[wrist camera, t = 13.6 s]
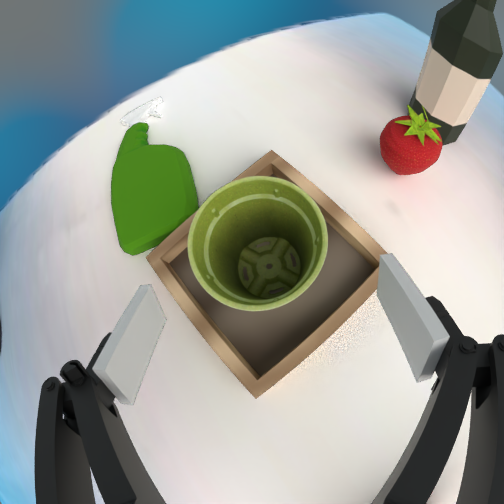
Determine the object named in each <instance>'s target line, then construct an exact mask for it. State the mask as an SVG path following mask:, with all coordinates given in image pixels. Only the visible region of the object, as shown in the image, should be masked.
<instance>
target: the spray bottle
mask: <svg viewBox="0 0 504 504" xmlns="http://www.w3.org/2000/svg"><path fill="white" fill-rule="evenodd" d="M161 102H163V100H162V98H161V97H158V98H156V99H154V100H151V101H149V102H147V103H145V104H143V105H142V106H140V107H138V108H136V109H134V110H133V111H131V112H129V113H128V114H126V115H125V116H124V117H123V118H122V119H121V120H120V122H121V123H122V124H123V125H127V126H129V129H128V130H127V131H126V133H125V135H124V138H123V140H122V143H121V145H120V148H119V151H118V155H117V158H116V161H115V164H114V167H113V172H112V181H111V205H112V211H113V216H114V221H115V226H116V231H117V235H118V240H119V244H120V247H121V248H122V249H123V251H124V252H126V253H128V254H130V255H137V254H139V253H142V252H144V251H146V250H148V249H151V248H153V247H155V246H158V245H159V244H160V243H162V242H163V241H164V240H165V239H166V238H167V237H168V236H169V235H170V234H171V233H172V232H174V231H175V230H176V229H177V228H178V227H179V226H180V225H181V224H182V223H184V222H185V221H186V220H187V219H188V218H189V217H190V216H191V215H193V214H194V213H195V212H196V211H197V210H198V209H199V208H198V200H197V193H196V189H195V185H194V181H193V177H192V173H191V169H190V165H189V163H188V161H187V159H186V157H185V155H184V153H183V151H181V150H179V149H178V148H176V147H173V146H169V145H148V142H147V141H146V140H147V137H148V135H147V134H146V132H147V130H148V127H149V126H148V124H147V123H145V122H146V120H147V119H148V117H149V116H151V115H152V116H155V117H160V118H161V117H162V115H161V114H159V113H157V112H156V111H155V109H156V105H158V104H160V103H161Z"/></svg>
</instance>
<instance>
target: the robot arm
mask: <svg viewBox="0 0 504 504" xmlns="http://www.w3.org/2000/svg"><path fill="white" fill-rule="evenodd" d="M377 297H378V299H379V301H380V303H381V305H382V307H383V309H384V311H385V313H386V315H387V317H388V319H389V321H390V323H391V325H392V327H393V329H394V331H395V334H396V336H397V338H398V340H399V342H400V344H401V347H402V349H403V351H404V353H405V356H406V358H407V360H408V363H409V365H410V367H411V370H412V372H413V375H414V377H415V380H416V382H417V383H418V382H421V381H424V380H427V379H430V378H431V377H432V375H433V373H434V371H436V374H437V376H438V378H437V380H436V381H435V383H434V385H433V387H432V389H431V390H432V393H431V395H430V398H429V400H428V403H427V405H426V407H425V410H424V412H423V414H422V417H421V419H420V421H419V423H418V425H417V428H416V430H415V432H414V434H413V436H412V438H411V440H410V442H409V444H408V446H407V447H406V449H405V451H404V453H403V455H402V457H401V458H400V460H399V462H398V464H397V465H396V467H395V469H394V470H393V472H392V474H391V475H390V477H389V478H388V480H387V481H386V483H385V485H384V486H383V488H382V489H381V491H380V492H379V493H378V495H377V496H376V498H375V499H374V501H373V502H372V503H371V504H426V502H427V500H428V499H429V497H430V495H431V493H432V491H433V490H434V488H435V486H436V484H437V482H438V480H439V478H440V476H441V474H442V472H443V469H444V467H445V465H446V463H447V461H448V458H449V456H450V453H451V451H452V449H453V446H454V443H455V441H456V438H457V435H458V433H459V430H460V427H461V424H462V421H463V418H464V415H465V411H466V408H467V405H468V401H469V397H470V393H471V389H472V397H471V420H470V432H469V441H468V449H467V456H466V462H465V468H464V473H463V478H462V482H461V487H460V491H459V495H458V499H457V502H456V504H504V335H503V334H501V335H497V336H496V337H495V338H494V340H493V341H492V343H488V344H478V343H477V342H476V341H475V340H474V339H473V338H471V337H469V336H464V335H463V334H462V332H461V331H460V329H459V328H458V326H457V325H456V323H455V322H454V320H453V319H452V317H451V316H450V315H449V313H448V311H447V310H446V309H445V307H444V306H443V304H442V303H441V302H440V301H439V300H438V299H436V298H435V297H433V296H431V297H427V298H425V297H424V296H423V294H422V293H421V291H420V290H419V289H418V287H417V286H416V284H415V283H414V282H413V280H412V279H411V277H410V276H409V275H408V273H407V272H406V271H405V269H404V268H403V267H402V265H401V264H400V263H399V261H398V260H397V259H396V257H395V256H394V255H393V254H392V253H390V254H383V255H380V262H379V275H378V286H377ZM166 320H167V319H166V317H165V315H164V313H163V310H162V308H161V306H160V304H159V301H158V299H157V297H156V295H155V292H154V290H153V287H152V285H151V284H149V285H140V287H139V289H138V290H137V292H136V293H135V295H134V297H133V298H132V300H131V301H130V303H129V305H128V306H127V308H126V310H125V311H124V313H123V315H122V316H121V318H120V320H119V321H118V323H117V325H116V327H115V328H114V330H113V332H112V333H108V334H107V335H106V336H105V337H104V338H103V340H102V341H101V343H100V345H99V347H98V348H97V350H96V353H95V354H94V355H93V357H92V359H91V361H90V363H89V365H88V366H87V368H86V369H85V368H84V367H83V366H82V364H81V363H80V362H79V361H78V360H72V361H69V362H67V363H66V364H65V365H64V366H63V367H62V369H61V371H60V376H61V377H62V378H63V379H64V380H65V381H66V382H64V383H61V382H60V380H59V379H58V378H56V377H50V378H48V379H47V380H46V381H45V382H44V383H43V385H42V388H41V394H40V401H39V408H38V417H37V427H36V440H35V493H36V504H96V503H95V498H94V492H93V486H92V479H91V471H90V467H91V470H92V473H93V476H94V478H95V481H96V483H97V486H98V488H99V491H100V493H101V495H102V498H103V500H104V502H105V504H166V503H165V501H164V499H163V498H162V496H161V495H160V493H159V491H158V490H157V488H156V487H155V485H154V483H153V481H152V480H151V478H150V476H149V474H148V473H147V471H146V469H145V467H144V465H143V463H142V462H141V460H140V458H139V456H138V454H137V452H136V450H135V448H134V446H133V444H132V441H131V439H130V437H129V435H128V433H127V431H126V428H125V426H124V424H123V421H122V419H121V417H120V414H119V412H118V409H117V407H116V405H115V403H114V402H113V401H114V398H115V397H116V398H117V399H118V401H119V402H120V403H122V404H129V405H133V404H134V401H135V399H136V396H137V393H138V390H139V388H140V385H141V382H142V380H143V377H144V374H145V372H146V369H147V367H148V364H149V361H150V359H151V356H152V354H153V351H154V349H155V346H156V344H157V341H158V339H159V336H160V334H161V332H162V329H163V327H164V324H165V322H166ZM0 349H1V325H0ZM63 414H64V419H63Z"/></svg>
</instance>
